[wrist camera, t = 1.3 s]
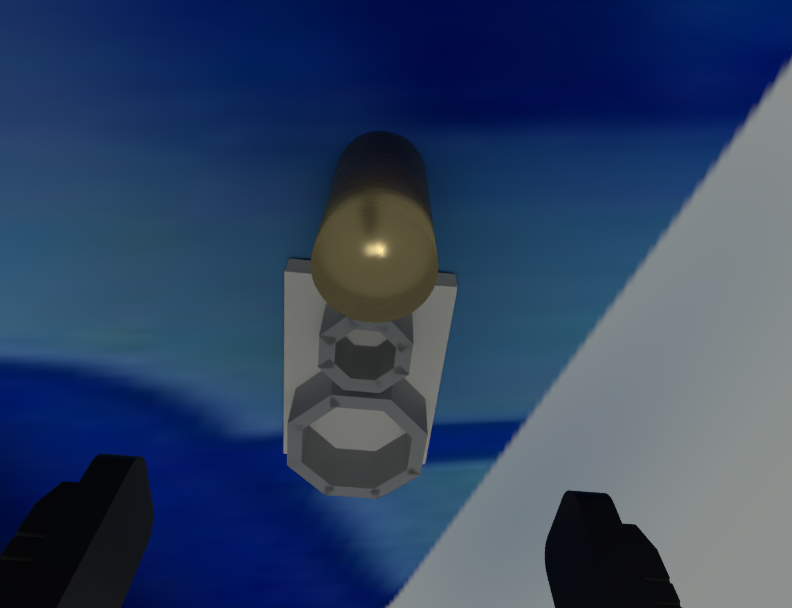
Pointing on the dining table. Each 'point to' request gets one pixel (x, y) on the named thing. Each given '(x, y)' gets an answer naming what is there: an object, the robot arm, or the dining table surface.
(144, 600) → the dining table surface
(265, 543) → the dining table surface
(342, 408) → the grey mounting plate
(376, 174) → the brass cylinder
